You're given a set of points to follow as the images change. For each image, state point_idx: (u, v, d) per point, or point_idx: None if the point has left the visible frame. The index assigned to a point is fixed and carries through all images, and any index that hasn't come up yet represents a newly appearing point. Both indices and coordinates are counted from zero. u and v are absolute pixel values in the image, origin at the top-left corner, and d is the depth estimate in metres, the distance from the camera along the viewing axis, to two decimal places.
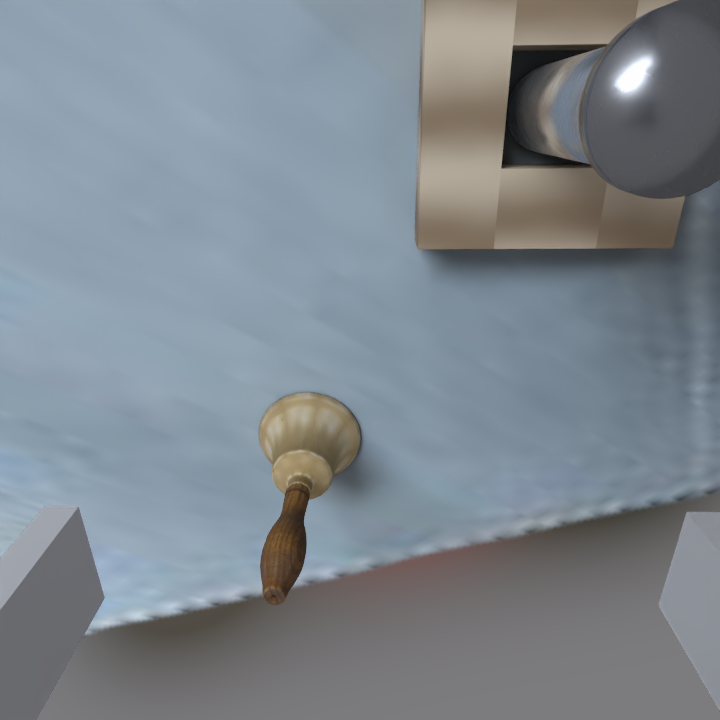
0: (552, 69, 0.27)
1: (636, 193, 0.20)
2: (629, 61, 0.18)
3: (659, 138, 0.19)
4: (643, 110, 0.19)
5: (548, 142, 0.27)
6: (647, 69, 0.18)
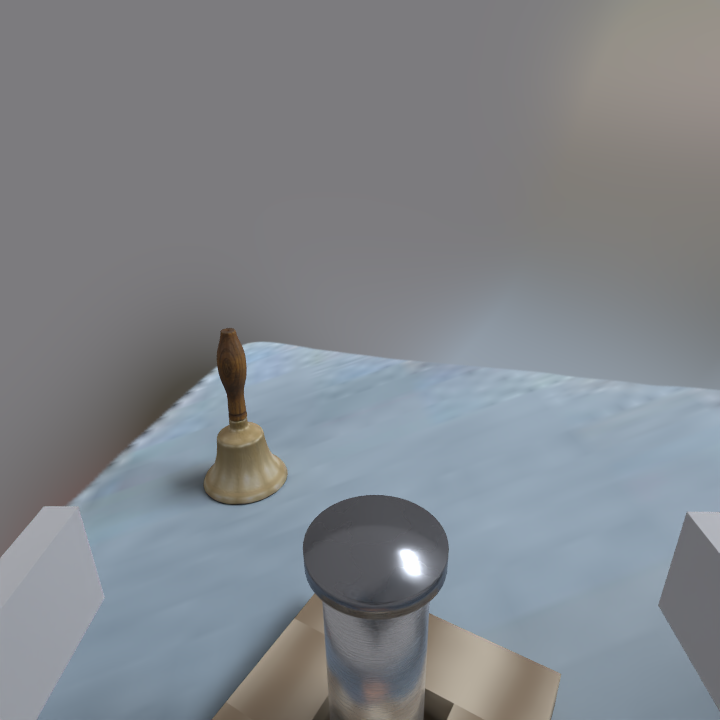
0: None
1: (331, 506, 0.26)
2: (423, 523, 0.25)
3: (360, 526, 0.25)
4: (385, 522, 0.25)
5: None
6: (411, 530, 0.24)
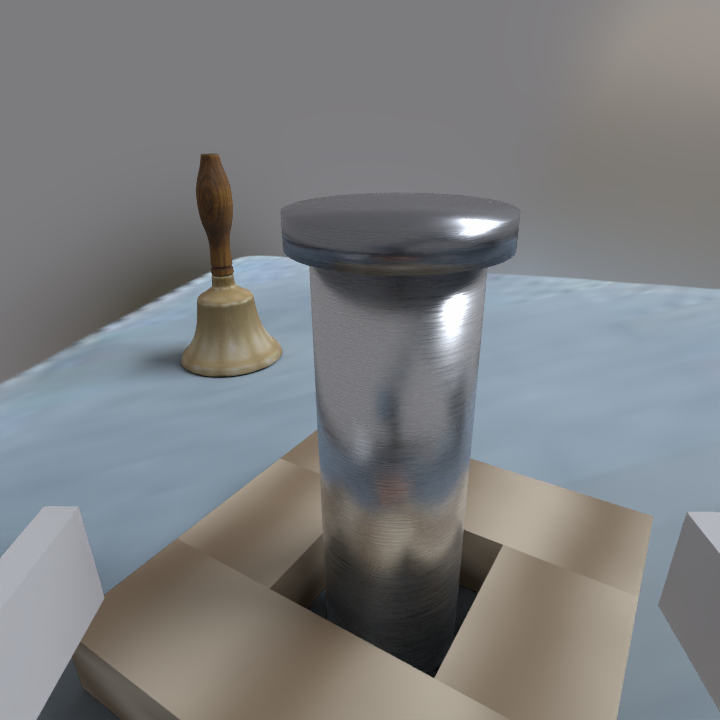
0: None
1: None
2: (473, 201, 0.16)
3: (373, 203, 0.16)
4: (414, 201, 0.16)
5: None
6: (456, 204, 0.15)
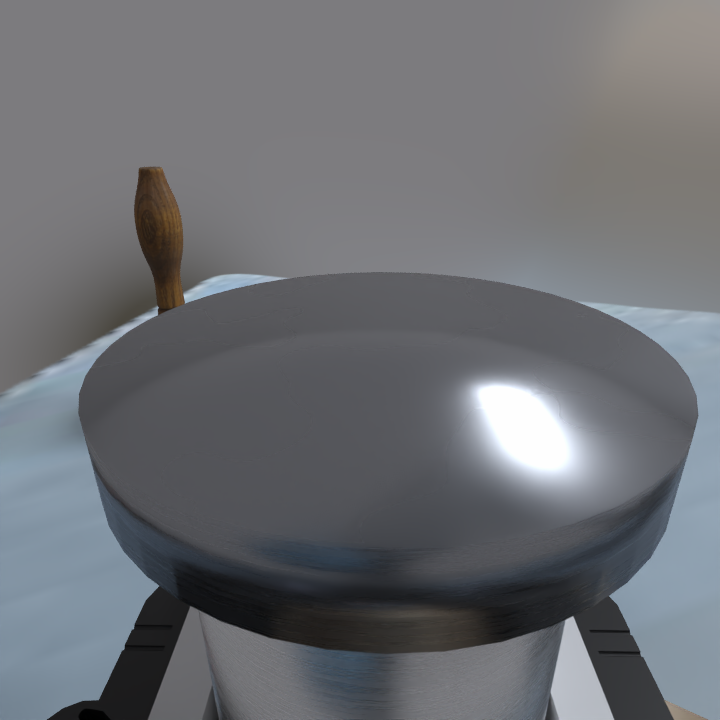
0: None
1: None
2: (544, 312, 0.07)
3: (329, 316, 0.07)
4: (416, 310, 0.07)
5: None
6: (511, 324, 0.07)
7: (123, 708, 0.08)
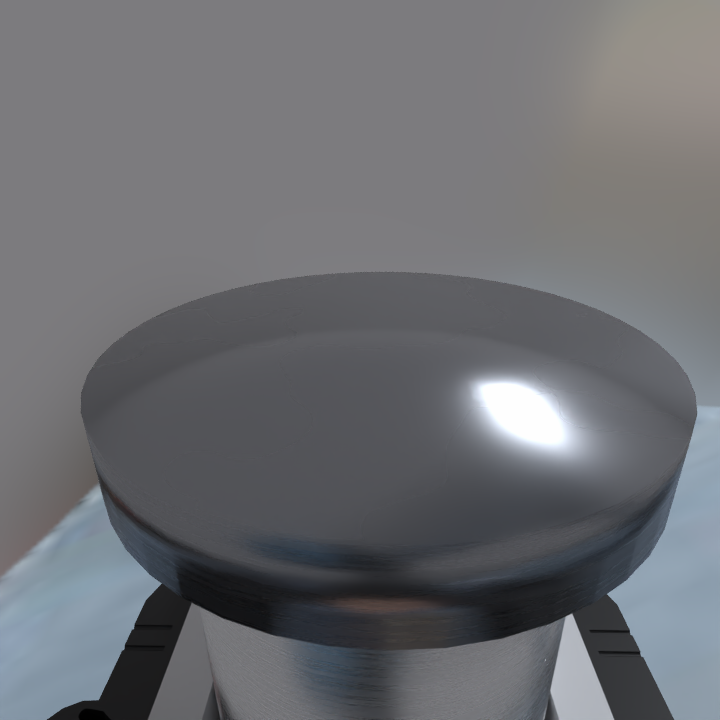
0: None
1: None
2: (544, 312, 0.07)
3: (330, 316, 0.07)
4: (416, 309, 0.07)
5: None
6: (511, 323, 0.07)
7: (123, 708, 0.08)
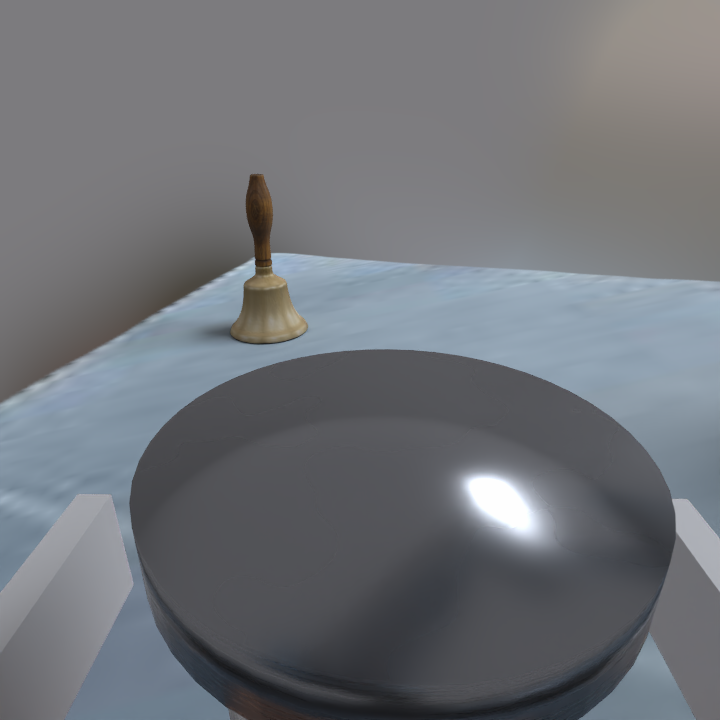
0: None
1: (266, 366, 0.09)
2: (542, 406, 0.08)
3: (346, 407, 0.08)
4: (425, 401, 0.08)
5: None
6: (512, 420, 0.08)
7: None
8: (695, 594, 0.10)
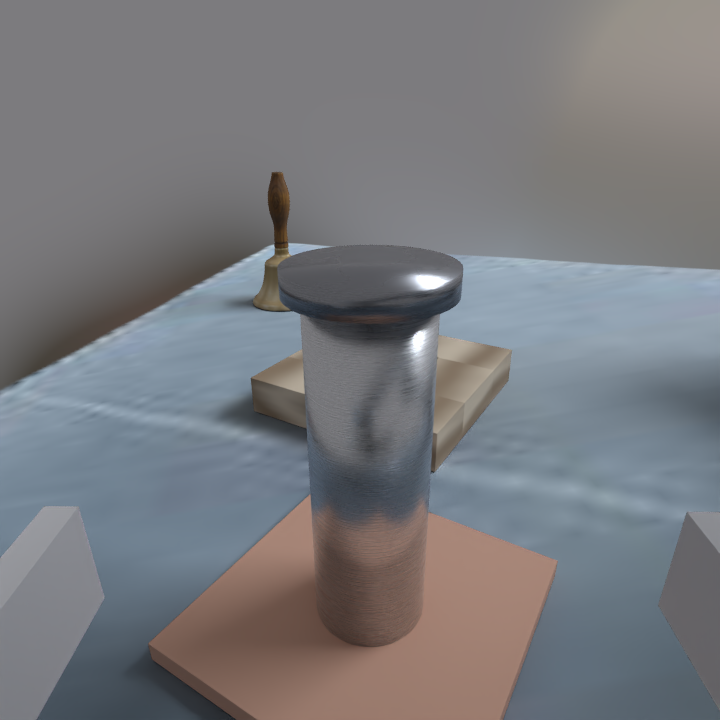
0: None
1: (316, 249, 0.21)
2: (430, 257, 0.20)
3: (351, 258, 0.20)
4: (383, 256, 0.20)
5: None
6: (416, 259, 0.19)
7: None
8: None
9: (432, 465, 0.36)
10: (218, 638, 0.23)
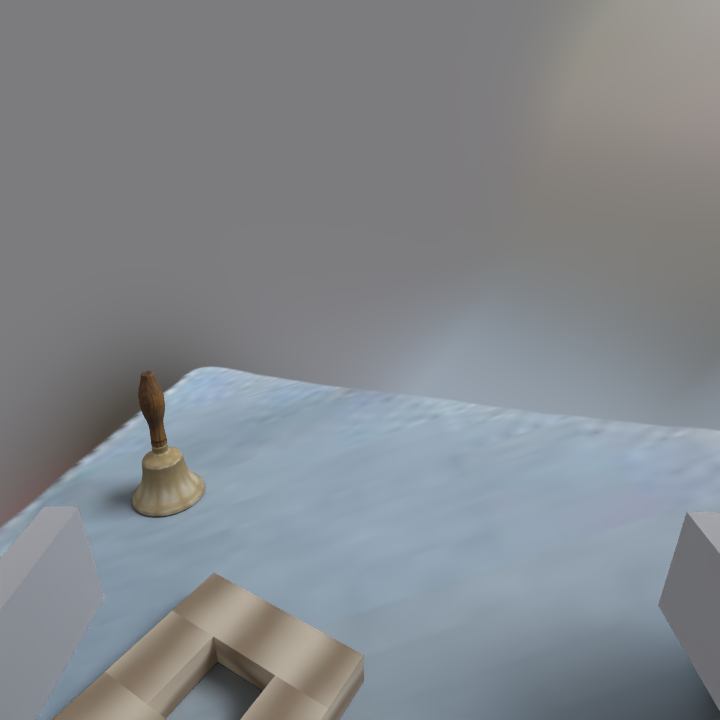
0: None
1: None
2: None
3: None
4: None
5: None
6: None
7: None
8: None
9: None
10: None
